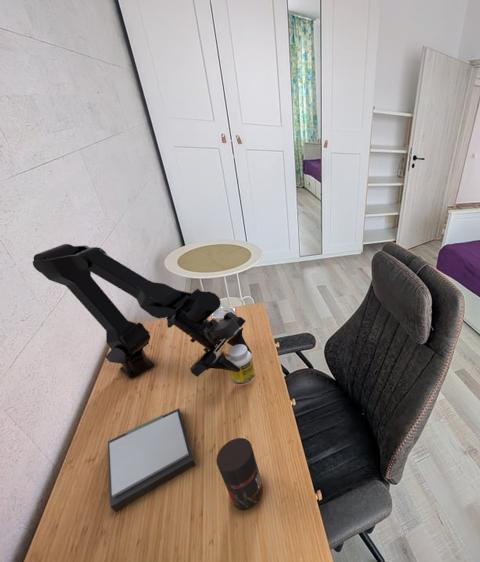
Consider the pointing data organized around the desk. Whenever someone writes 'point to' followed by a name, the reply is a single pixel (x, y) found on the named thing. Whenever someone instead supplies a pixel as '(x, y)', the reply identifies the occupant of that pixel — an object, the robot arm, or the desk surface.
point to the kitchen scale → (147, 458)
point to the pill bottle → (241, 364)
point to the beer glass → (218, 317)
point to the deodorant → (240, 473)
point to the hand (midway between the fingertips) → (245, 362)
